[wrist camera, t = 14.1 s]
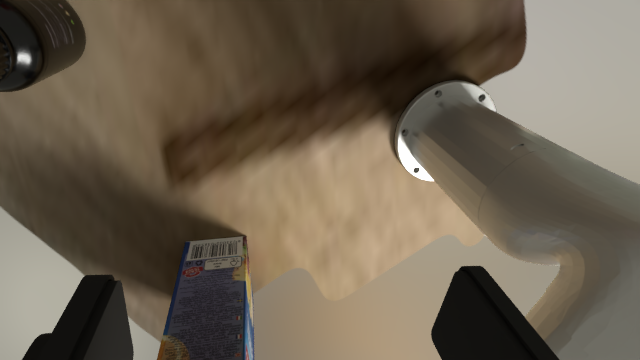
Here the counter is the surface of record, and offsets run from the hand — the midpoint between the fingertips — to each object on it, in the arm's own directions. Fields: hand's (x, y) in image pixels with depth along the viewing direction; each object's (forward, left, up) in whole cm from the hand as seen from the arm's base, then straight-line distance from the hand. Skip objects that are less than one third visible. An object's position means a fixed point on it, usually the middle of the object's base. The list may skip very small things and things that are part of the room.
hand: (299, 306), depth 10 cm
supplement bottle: (+19, -2, -31) cm, 36 cm away
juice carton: (+4, +27, -31) cm, 41 cm away
